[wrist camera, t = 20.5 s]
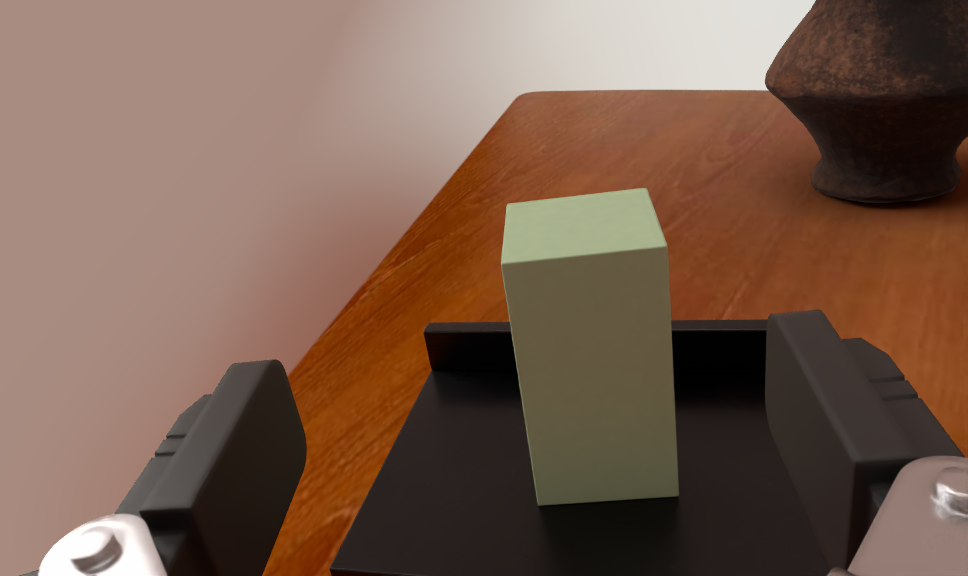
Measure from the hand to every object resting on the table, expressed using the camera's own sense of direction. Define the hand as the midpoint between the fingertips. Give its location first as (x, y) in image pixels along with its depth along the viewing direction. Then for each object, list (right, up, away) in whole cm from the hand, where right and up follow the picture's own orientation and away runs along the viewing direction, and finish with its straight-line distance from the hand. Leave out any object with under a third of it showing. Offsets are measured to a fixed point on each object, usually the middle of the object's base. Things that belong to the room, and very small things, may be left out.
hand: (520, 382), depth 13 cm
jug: (+33, +10, +51) cm, 62 cm away
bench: (+5, -11, +18) cm, 22 cm away
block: (+4, -4, +15) cm, 16 cm away
